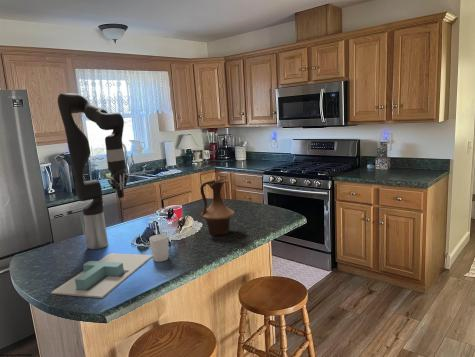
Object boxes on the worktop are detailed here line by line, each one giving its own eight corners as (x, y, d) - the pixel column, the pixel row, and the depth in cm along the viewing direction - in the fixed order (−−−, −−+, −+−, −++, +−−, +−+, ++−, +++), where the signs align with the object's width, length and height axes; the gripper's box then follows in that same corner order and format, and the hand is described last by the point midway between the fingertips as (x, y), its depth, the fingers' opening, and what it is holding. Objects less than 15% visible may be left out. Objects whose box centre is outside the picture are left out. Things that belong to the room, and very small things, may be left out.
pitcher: (208, 240, 181) (203, 184, 176) (197, 230, 196) (193, 179, 191) (240, 233, 188) (237, 179, 182) (228, 224, 203) (224, 174, 198)
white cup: (154, 264, 157) (151, 241, 155) (149, 258, 164) (147, 236, 162) (172, 259, 160) (169, 237, 159) (166, 253, 167) (164, 232, 166)
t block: (63, 288, 139) (61, 278, 138) (90, 269, 154) (89, 260, 153) (99, 291, 135) (98, 281, 134) (124, 272, 150) (122, 262, 149)
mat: (51, 293, 137) (51, 292, 136) (110, 254, 171) (110, 253, 171) (102, 298, 131) (102, 296, 130) (152, 256, 165) (152, 255, 165)
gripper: (117, 157, 169) (122, 194, 172) (99, 161, 156) (104, 201, 160) (131, 156, 167) (136, 194, 170) (114, 161, 154) (120, 201, 158)
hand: (121, 197), depth 165 cm, fingers closed
